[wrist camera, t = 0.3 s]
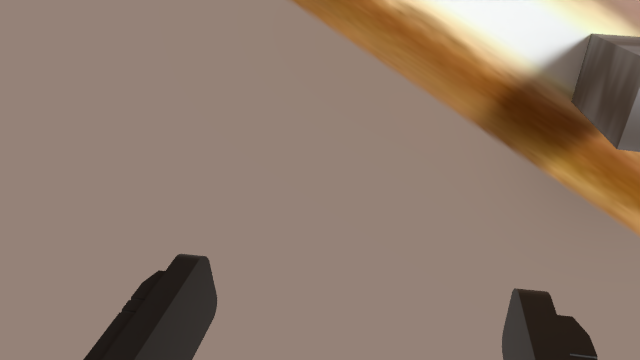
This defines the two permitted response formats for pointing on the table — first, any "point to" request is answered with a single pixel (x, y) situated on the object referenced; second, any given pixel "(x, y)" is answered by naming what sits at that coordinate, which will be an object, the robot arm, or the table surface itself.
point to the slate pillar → (612, 89)
